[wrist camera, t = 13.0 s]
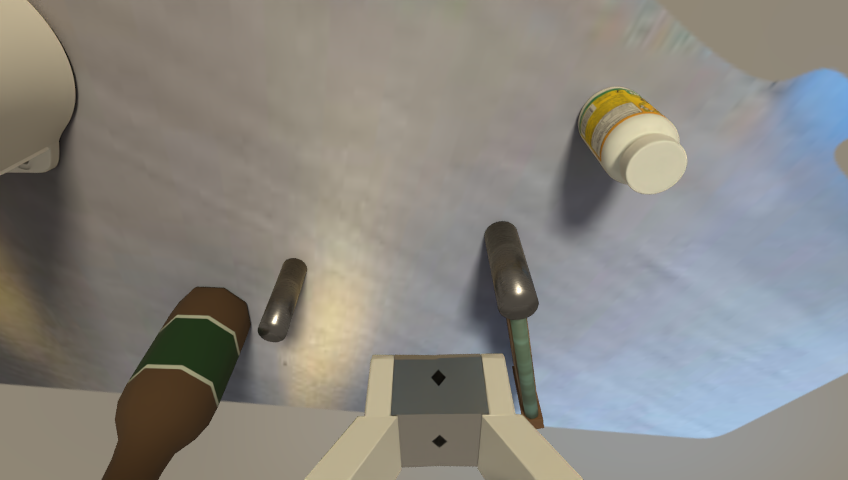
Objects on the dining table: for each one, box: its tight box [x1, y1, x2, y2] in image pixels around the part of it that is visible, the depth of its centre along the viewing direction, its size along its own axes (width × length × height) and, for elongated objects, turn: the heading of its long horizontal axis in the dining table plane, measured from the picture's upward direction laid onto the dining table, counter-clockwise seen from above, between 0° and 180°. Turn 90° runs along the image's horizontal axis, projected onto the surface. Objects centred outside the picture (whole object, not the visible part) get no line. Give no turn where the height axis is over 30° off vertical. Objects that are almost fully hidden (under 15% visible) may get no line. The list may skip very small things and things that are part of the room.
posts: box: [258, 221, 539, 342], centre depth 43 cm, size 24×3×10 cm, turn 101°
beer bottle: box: [102, 287, 251, 480], centre depth 42 cm, size 8×8×24 cm
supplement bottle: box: [578, 87, 687, 194], centre depth 36 cm, size 5×5×10 cm
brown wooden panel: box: [506, 318, 544, 429], centre depth 48 cm, size 17×2×7 cm, turn 12°
